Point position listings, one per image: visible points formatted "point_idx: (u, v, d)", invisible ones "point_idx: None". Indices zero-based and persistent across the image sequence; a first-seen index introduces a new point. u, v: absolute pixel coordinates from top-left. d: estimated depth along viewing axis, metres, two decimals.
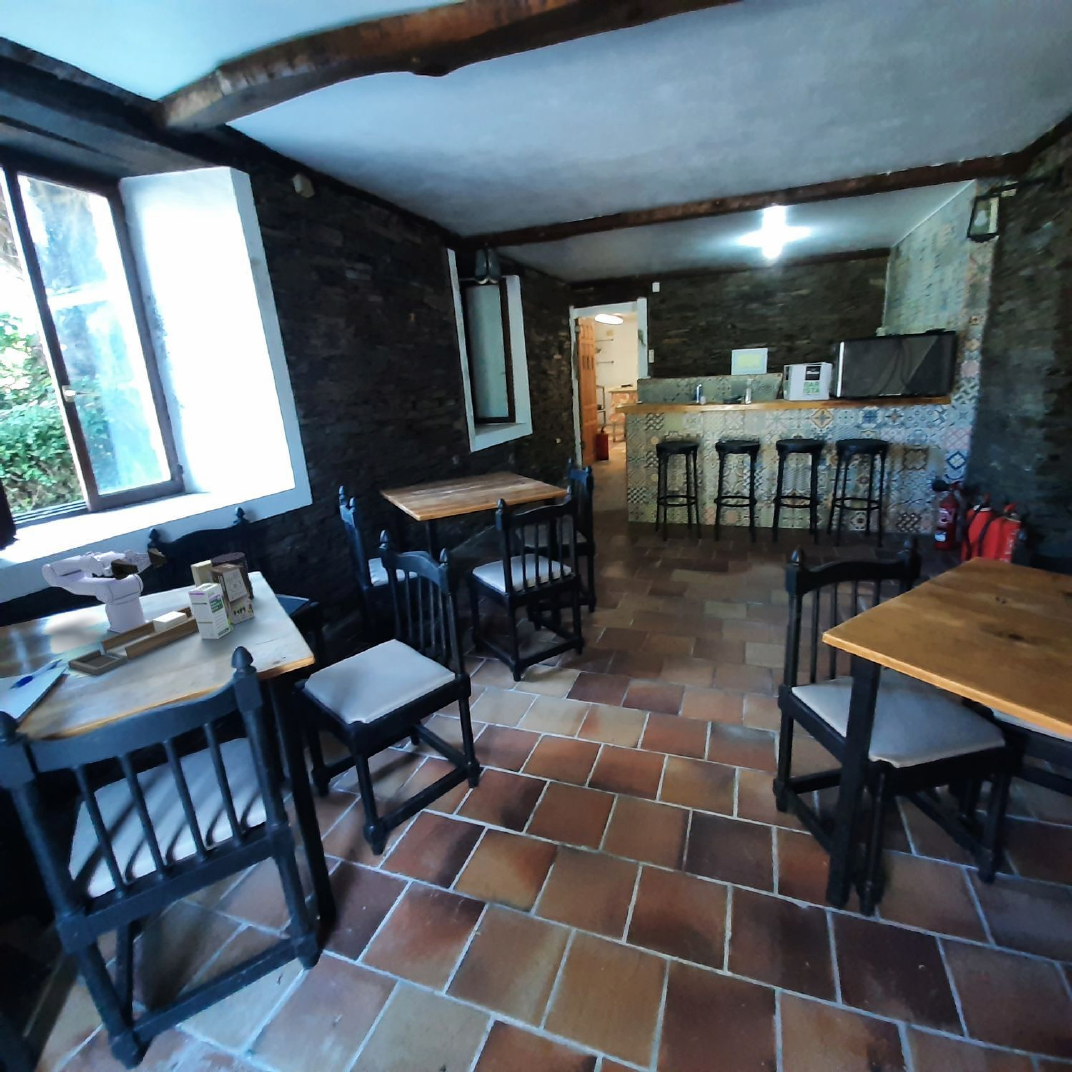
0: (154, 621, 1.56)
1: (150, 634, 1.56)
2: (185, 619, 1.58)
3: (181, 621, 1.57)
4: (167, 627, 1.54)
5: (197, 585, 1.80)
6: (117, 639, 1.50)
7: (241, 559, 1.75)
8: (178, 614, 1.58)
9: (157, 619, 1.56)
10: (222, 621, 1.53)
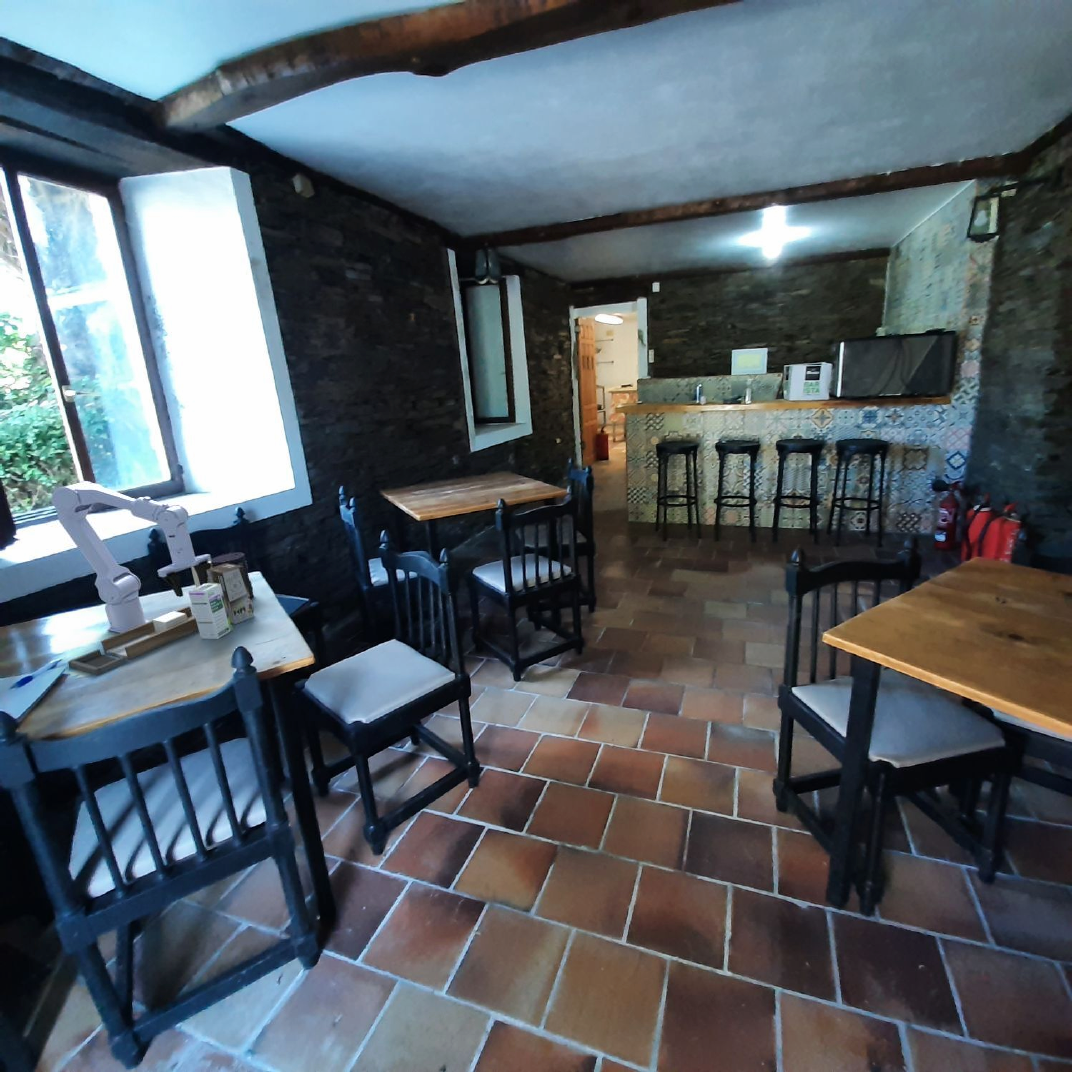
0: (154, 621, 1.56)
1: (150, 634, 1.56)
2: (185, 619, 1.58)
3: (181, 621, 1.57)
4: (167, 627, 1.54)
5: (197, 585, 1.80)
6: (117, 639, 1.50)
7: (241, 559, 1.75)
8: (178, 614, 1.58)
9: (157, 619, 1.56)
10: (222, 621, 1.53)
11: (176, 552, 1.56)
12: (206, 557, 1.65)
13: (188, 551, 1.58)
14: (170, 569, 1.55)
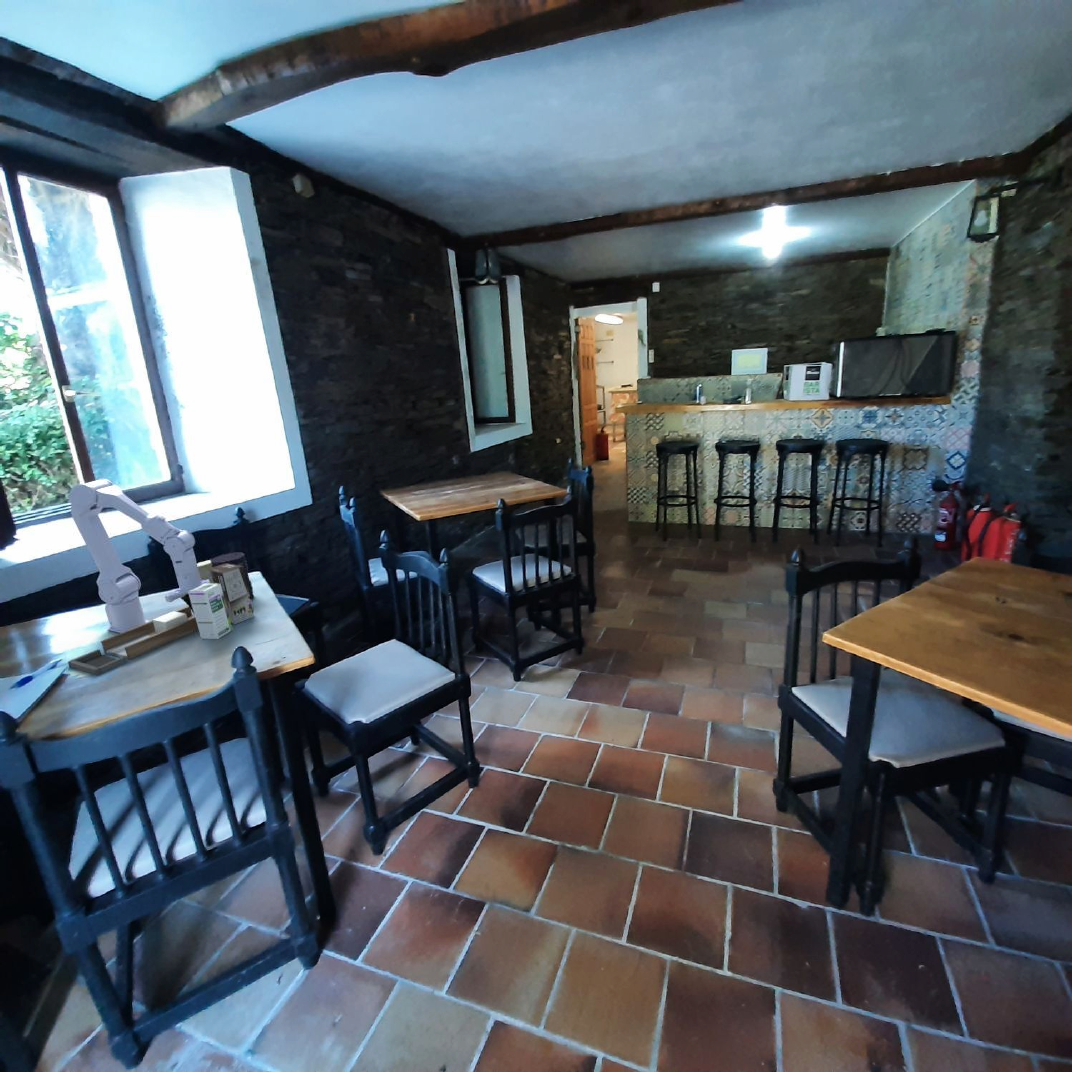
0: (154, 621, 1.56)
1: (150, 634, 1.56)
2: (185, 619, 1.58)
3: (181, 621, 1.57)
4: (167, 627, 1.54)
5: None
6: (117, 639, 1.50)
7: (241, 559, 1.75)
8: (178, 614, 1.58)
9: (157, 619, 1.56)
10: (222, 621, 1.53)
11: (183, 577, 1.59)
12: None
13: (195, 576, 1.60)
14: (177, 594, 1.58)
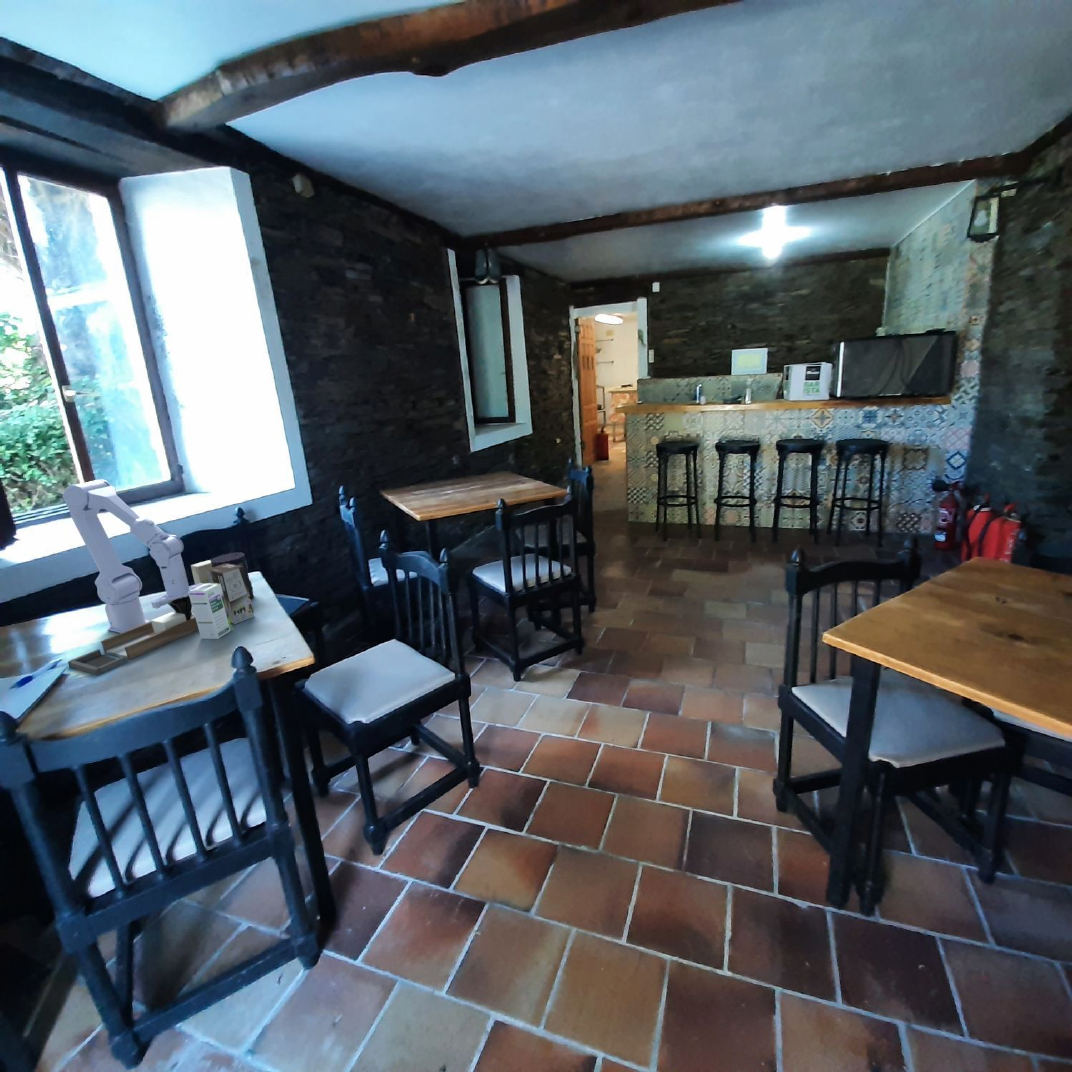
0: (153, 622, 1.55)
1: (150, 634, 1.56)
2: (184, 620, 1.58)
3: (180, 622, 1.57)
4: (166, 628, 1.54)
5: None
6: (117, 639, 1.50)
7: (241, 559, 1.75)
8: (177, 615, 1.58)
9: (156, 620, 1.55)
10: (222, 621, 1.53)
11: (170, 583, 1.55)
12: None
13: (182, 582, 1.57)
14: (164, 600, 1.54)
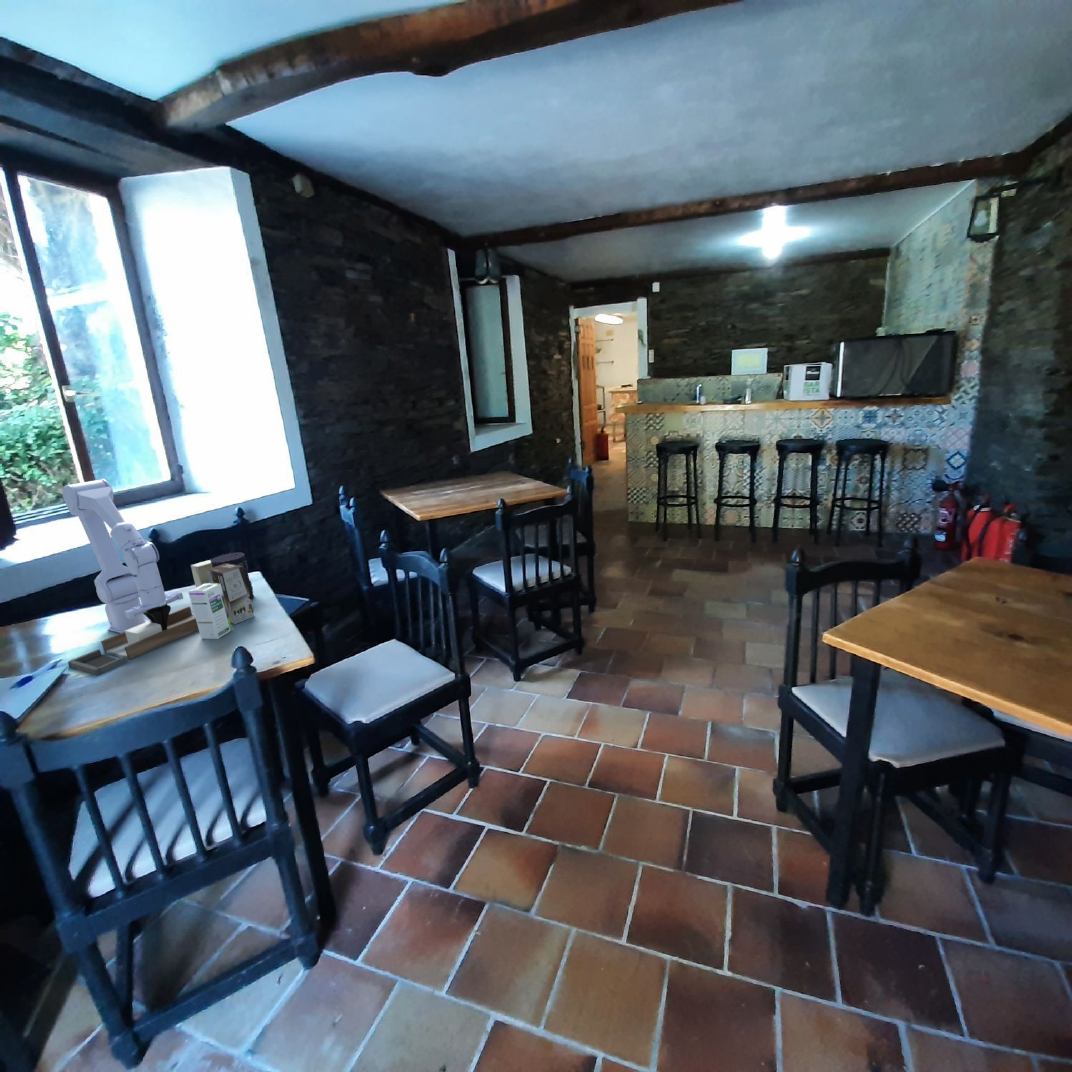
0: (126, 632, 1.49)
1: None
2: (159, 630, 1.52)
3: (155, 632, 1.51)
4: (140, 639, 1.48)
5: (197, 585, 1.80)
6: (117, 639, 1.50)
7: (241, 559, 1.75)
8: (152, 625, 1.52)
9: (130, 630, 1.50)
10: (222, 621, 1.53)
11: (145, 592, 1.50)
12: (178, 595, 1.58)
13: (158, 590, 1.51)
14: (138, 610, 1.48)
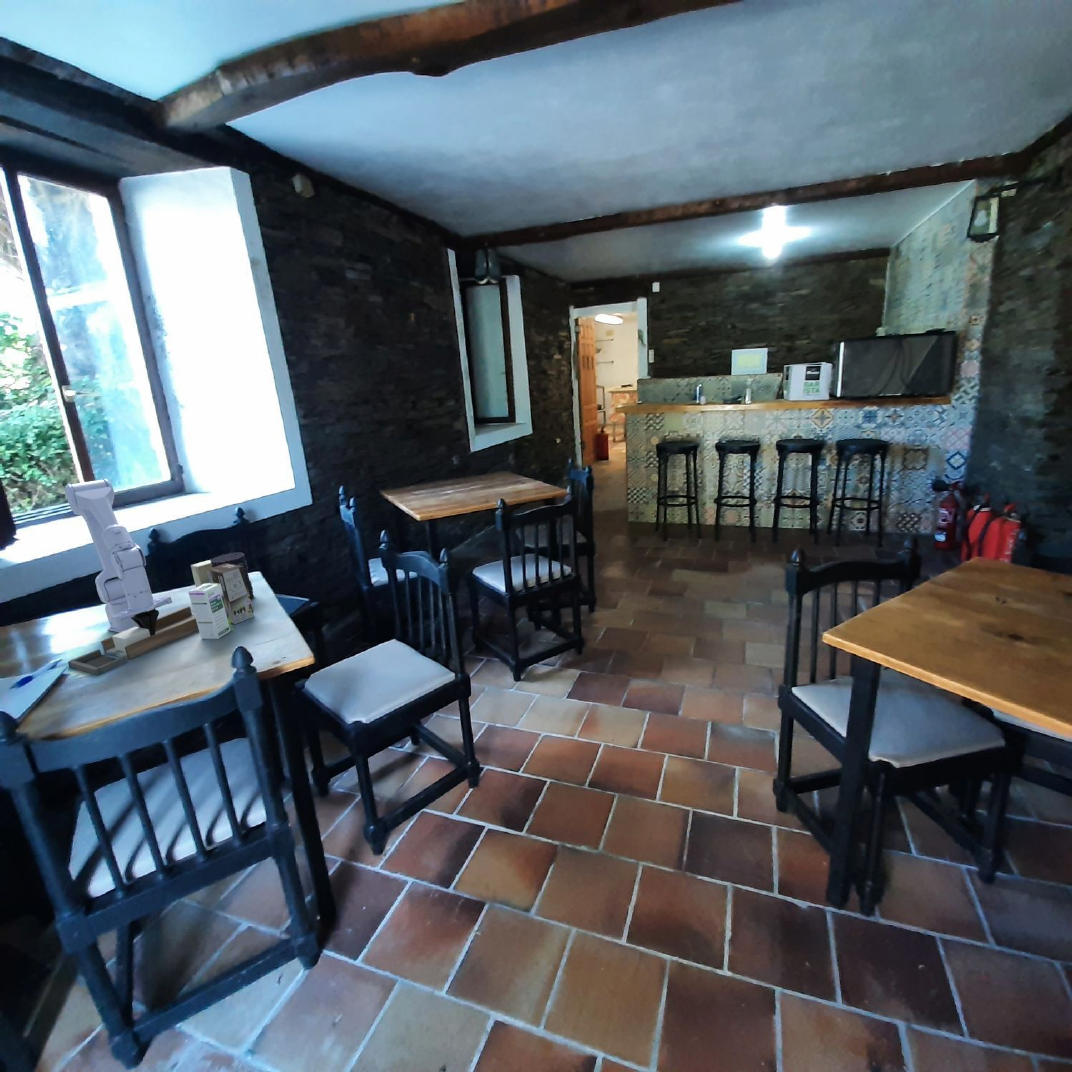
0: (114, 637, 1.47)
1: None
2: (147, 635, 1.49)
3: (143, 637, 1.48)
4: (127, 644, 1.45)
5: (197, 585, 1.80)
6: None
7: (241, 559, 1.75)
8: (140, 630, 1.49)
9: (117, 635, 1.47)
10: (222, 621, 1.53)
11: (132, 596, 1.47)
12: (166, 599, 1.55)
13: (145, 595, 1.49)
14: (125, 615, 1.46)
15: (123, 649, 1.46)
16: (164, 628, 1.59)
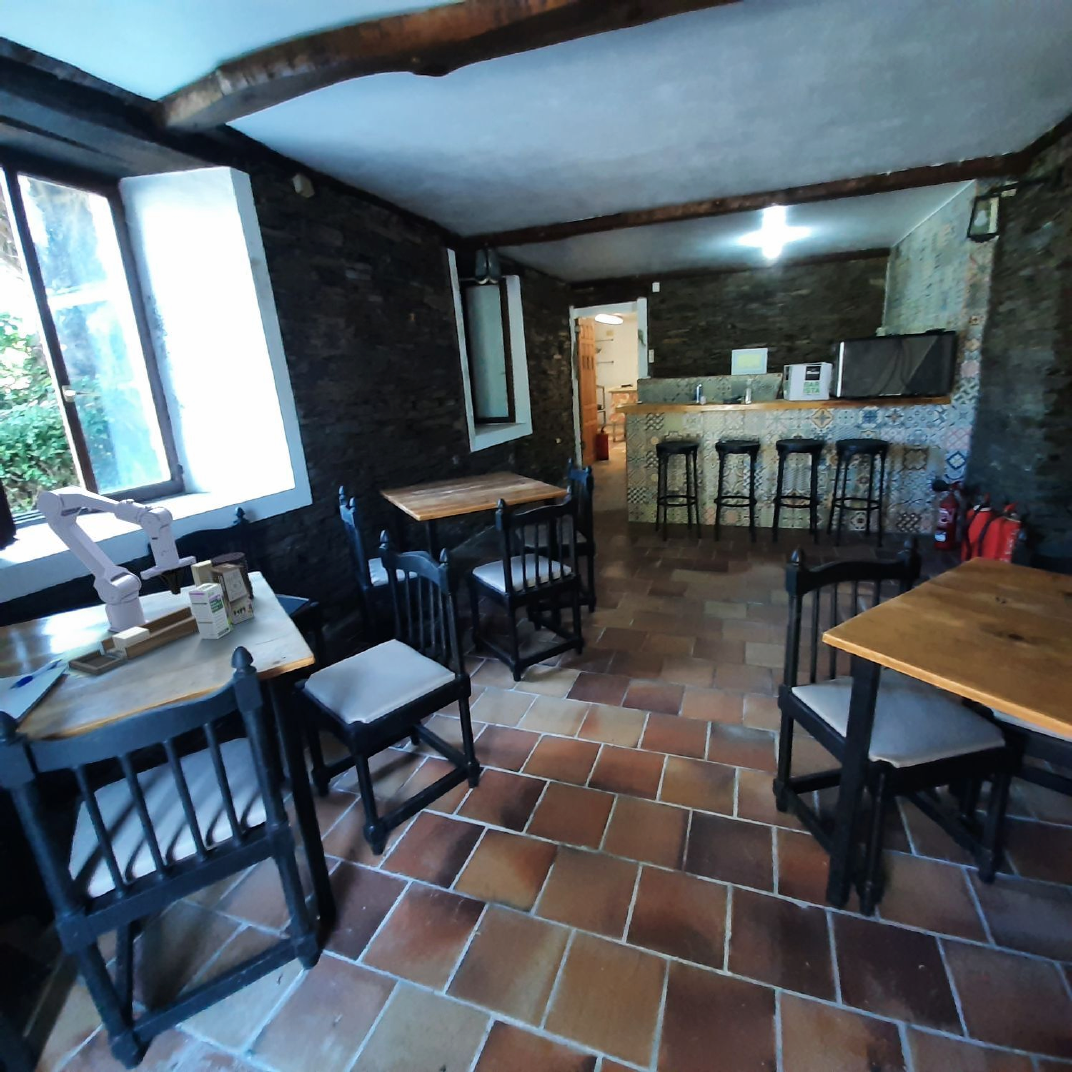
0: (114, 637, 1.47)
1: (150, 634, 1.56)
2: (147, 635, 1.49)
3: (143, 637, 1.48)
4: (127, 644, 1.45)
5: (197, 585, 1.80)
6: None
7: (241, 559, 1.75)
8: (140, 630, 1.49)
9: (117, 635, 1.47)
10: (222, 621, 1.53)
11: (159, 554, 1.55)
12: (191, 559, 1.64)
13: (172, 553, 1.57)
14: (153, 571, 1.54)
15: (123, 649, 1.46)
16: (164, 628, 1.59)
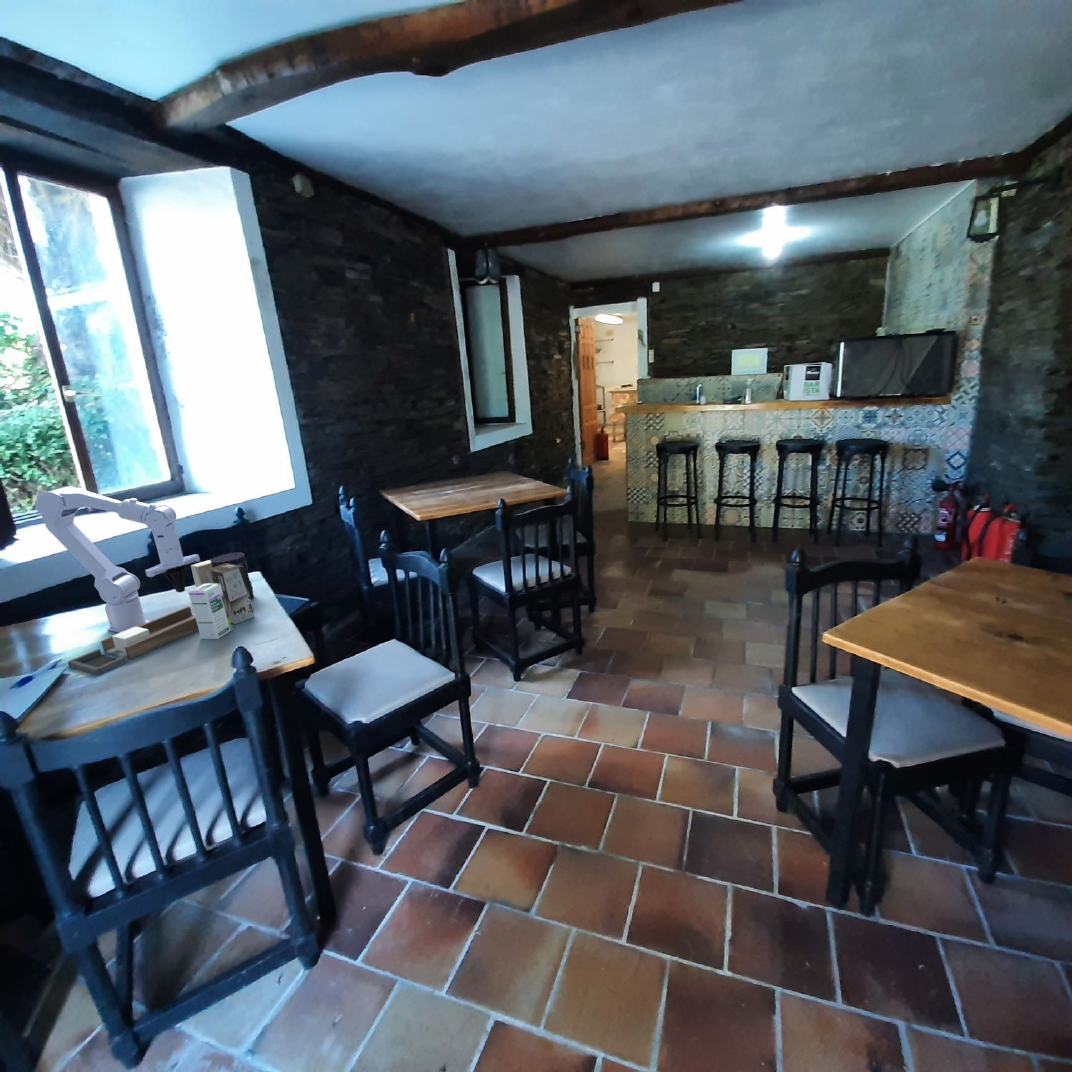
0: (114, 637, 1.47)
1: (150, 634, 1.56)
2: (147, 635, 1.49)
3: (143, 637, 1.48)
4: (127, 644, 1.45)
5: (197, 585, 1.80)
6: None
7: (241, 559, 1.75)
8: (140, 630, 1.49)
9: (117, 635, 1.47)
10: (222, 621, 1.53)
11: (164, 552, 1.57)
12: (194, 557, 1.66)
13: (176, 551, 1.59)
14: (158, 569, 1.56)
15: (123, 649, 1.46)
16: (164, 628, 1.59)
